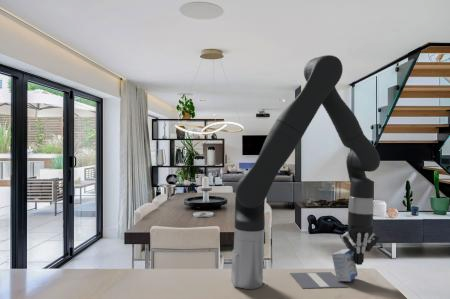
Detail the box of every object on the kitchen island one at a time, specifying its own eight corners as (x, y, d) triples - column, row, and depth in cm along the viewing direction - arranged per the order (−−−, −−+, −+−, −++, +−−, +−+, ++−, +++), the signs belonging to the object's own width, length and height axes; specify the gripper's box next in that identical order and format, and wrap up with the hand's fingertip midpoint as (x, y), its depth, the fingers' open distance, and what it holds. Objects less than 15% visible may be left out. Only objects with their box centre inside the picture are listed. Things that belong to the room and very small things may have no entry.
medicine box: (350, 281, 109) (345, 253, 110) (336, 281, 111) (331, 253, 112) (358, 275, 115) (352, 248, 116) (344, 275, 117) (339, 249, 119)
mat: (302, 288, 106) (302, 287, 106) (289, 273, 117) (289, 272, 117) (347, 287, 108) (347, 286, 108) (330, 272, 120) (330, 272, 120)
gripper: (347, 213, 108) (344, 268, 109) (386, 213, 110) (383, 267, 111) (336, 208, 116) (333, 260, 116) (373, 208, 118) (370, 259, 118)
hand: (358, 263), depth 113 cm, fingers closed
